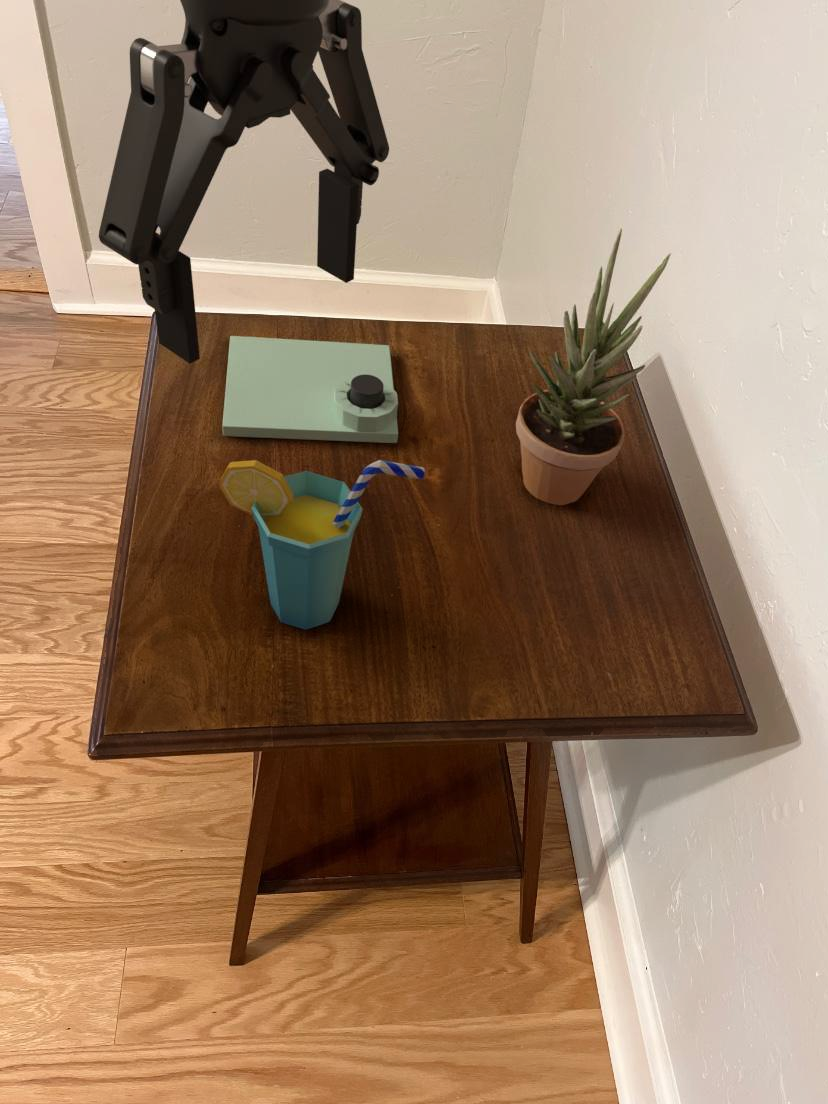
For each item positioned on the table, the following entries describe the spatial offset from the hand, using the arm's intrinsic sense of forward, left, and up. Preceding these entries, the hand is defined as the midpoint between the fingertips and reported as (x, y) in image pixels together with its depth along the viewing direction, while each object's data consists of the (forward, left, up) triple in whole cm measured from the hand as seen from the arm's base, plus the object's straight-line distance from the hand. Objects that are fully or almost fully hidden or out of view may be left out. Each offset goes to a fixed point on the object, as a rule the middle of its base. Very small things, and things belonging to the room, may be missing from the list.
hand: (262, 310), depth 58 cm
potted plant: (+20, +19, -23) cm, 35 cm away
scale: (-5, +20, -22) cm, 31 cm away
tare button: (+1, +19, -20) cm, 27 cm away
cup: (+6, -4, -23) cm, 24 cm away
